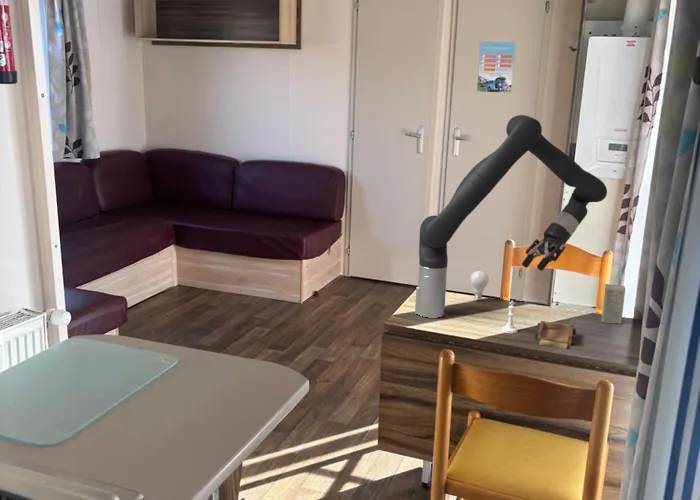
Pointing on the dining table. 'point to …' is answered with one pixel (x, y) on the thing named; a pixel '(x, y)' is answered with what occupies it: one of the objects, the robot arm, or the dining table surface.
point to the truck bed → (555, 334)
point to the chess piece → (510, 321)
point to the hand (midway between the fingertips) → (531, 267)
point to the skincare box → (613, 303)
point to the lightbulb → (479, 283)
